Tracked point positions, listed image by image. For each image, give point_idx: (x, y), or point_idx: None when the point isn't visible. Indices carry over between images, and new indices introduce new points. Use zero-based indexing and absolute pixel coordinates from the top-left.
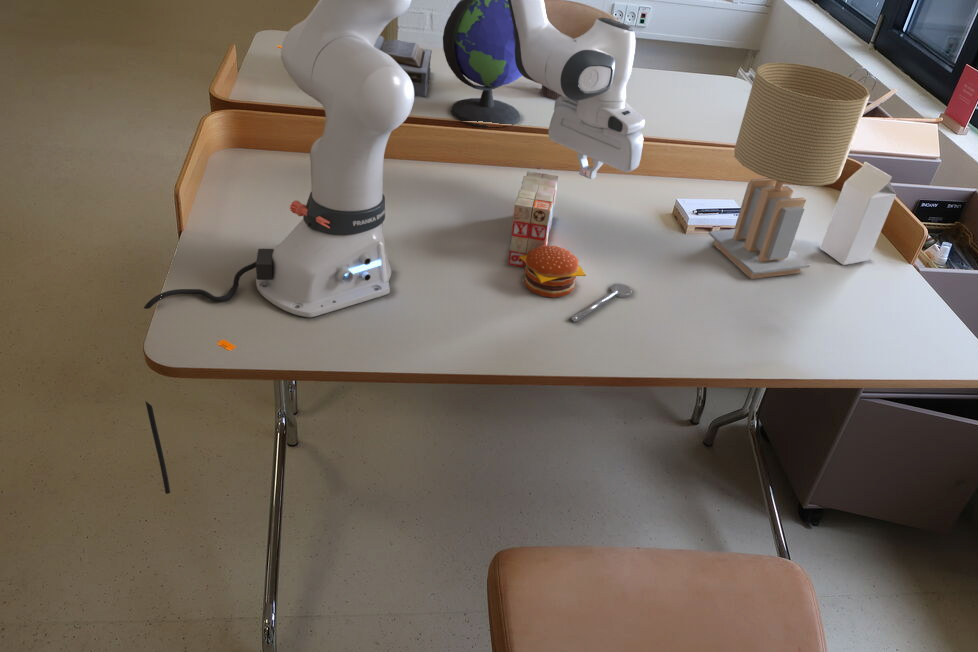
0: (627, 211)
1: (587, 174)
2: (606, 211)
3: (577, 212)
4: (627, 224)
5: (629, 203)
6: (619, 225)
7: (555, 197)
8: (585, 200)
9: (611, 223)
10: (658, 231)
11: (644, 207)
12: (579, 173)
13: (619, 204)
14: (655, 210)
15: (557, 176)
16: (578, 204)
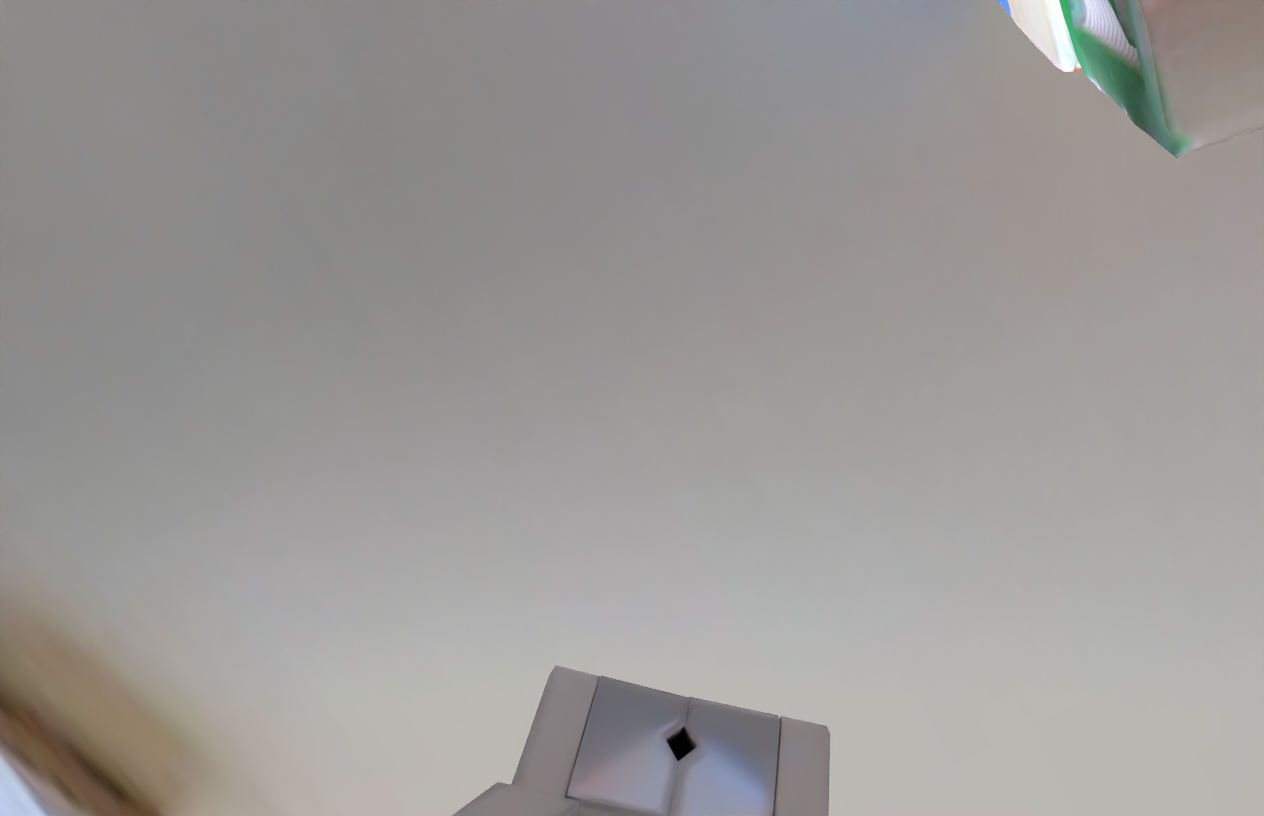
0: (415, 678)
1: (631, 728)
2: (552, 574)
3: (780, 372)
4: (260, 461)
5: None
6: (294, 394)
7: (1024, 8)
8: (836, 656)
9: (372, 381)
10: (14, 511)
11: (362, 805)
12: (824, 731)
13: None
14: (275, 805)
15: (1173, 93)
16: (858, 543)
